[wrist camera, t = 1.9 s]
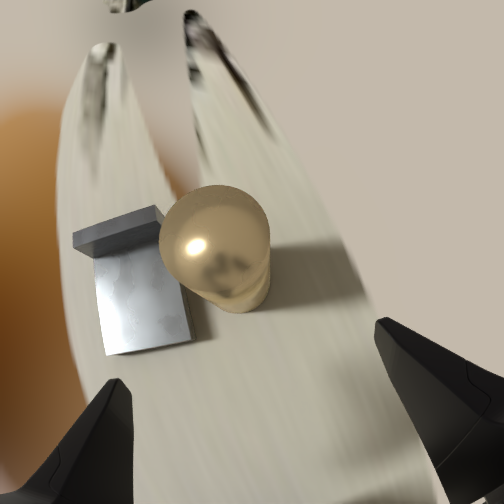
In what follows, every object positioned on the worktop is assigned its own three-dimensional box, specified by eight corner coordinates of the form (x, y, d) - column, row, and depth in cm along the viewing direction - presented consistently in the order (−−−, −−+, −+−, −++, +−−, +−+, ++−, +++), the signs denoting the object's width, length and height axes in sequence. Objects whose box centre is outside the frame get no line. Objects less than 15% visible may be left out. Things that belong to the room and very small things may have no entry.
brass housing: (277, 304, 21) (283, 274, 12) (213, 320, 21) (169, 304, 12) (260, 243, 23) (253, 173, 13) (200, 259, 23) (152, 201, 13)
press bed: (196, 339, 21) (178, 339, 17) (115, 354, 21) (84, 355, 16) (174, 228, 24) (154, 204, 19) (101, 250, 23) (72, 233, 19)
